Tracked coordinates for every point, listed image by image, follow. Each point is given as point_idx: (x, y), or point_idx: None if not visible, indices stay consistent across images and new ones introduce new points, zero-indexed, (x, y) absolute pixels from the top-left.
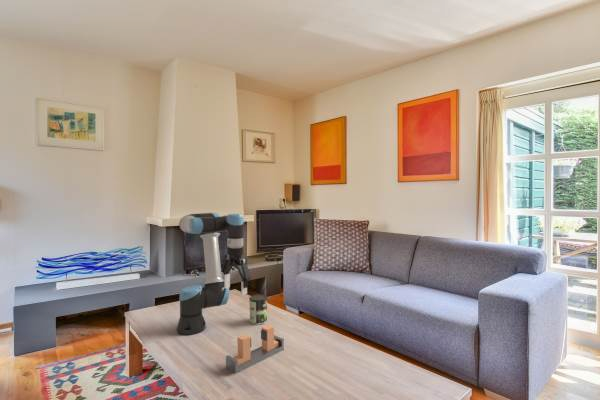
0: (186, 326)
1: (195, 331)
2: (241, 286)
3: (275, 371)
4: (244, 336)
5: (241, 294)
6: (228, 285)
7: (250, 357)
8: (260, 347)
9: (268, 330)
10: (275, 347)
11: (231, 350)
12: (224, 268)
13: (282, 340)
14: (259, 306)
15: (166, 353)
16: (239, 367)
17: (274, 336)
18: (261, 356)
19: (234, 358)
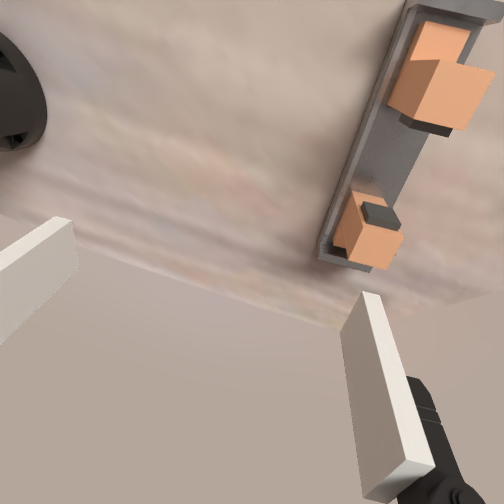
0: (3, 141)
1: (39, 117)
2: (354, 414)
3: (492, 193)
4: (374, 243)
5: (341, 335)
6: (59, 248)
7: (384, 201)
8: (379, 105)
9: (466, 120)
10: None
11: (259, 150)
12: None
13: (501, 16)
14: None
15: (117, 252)
16: None
17: (436, 3)
18: (414, 161)
19: (344, 245)
